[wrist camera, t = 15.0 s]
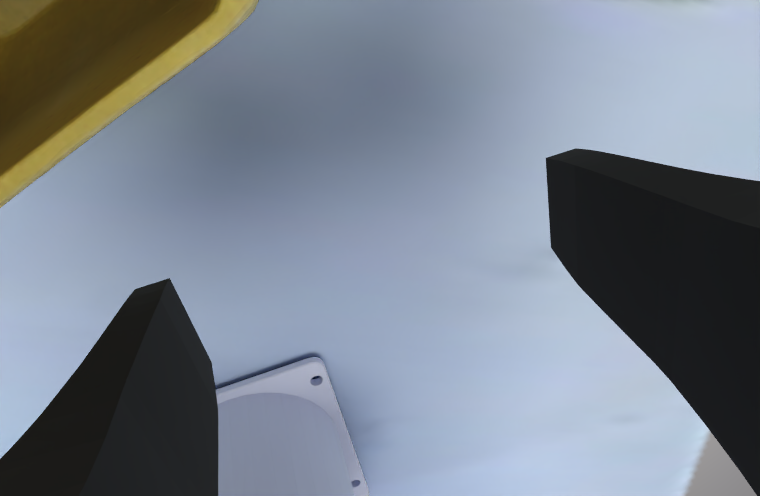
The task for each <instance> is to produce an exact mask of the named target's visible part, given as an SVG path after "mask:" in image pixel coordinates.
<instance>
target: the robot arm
mask: <svg viewBox="0 0 760 496" xmlns="http://www.w3.org/2000/svg"><path fill="white" fill-rule="evenodd" d="M546 168H547V185H548V202H549V220H550V237H551V248H552V249H553V251H554V252H555V254H556V255H557V257H558V258H559V259H560V261H561V262H562V264H563V265H564V267H565V268H566V269H567V271H568V272H569V273H570V275H571V276H572V277H573V279H574V280H575V281H576V283H577V284H578V285H579V286H580V287H581V288H582V290H583V291H584V292H585V293H586V294H587V295H588V296H589V297H590V298H591V299H592V300H593V301H594V302H595V303H596V304H597V305H598V306H599V307H600V308H601V309H602V310H603V311H604V312H605V313H606V314H607V315H608V316H609V317H610V318H611V319H612V320H613V321H614V322H615V323H616V324H617V325H618V326H619V327H620V329H621V330H622V331H623V332H624V333H625V334H626V335H627V336H628V337H629V338H630V339H631V340H632V341H633V342H634V343H635V344H636V345H637V346H638V347H639V348H640V349H641V350H642V351H643V352H644V353H645V354H646V355H647V356H648V357H649V358H650V359H651V360H652V361H653V362H654V363H655V364H656V365H657V366H658V367H659V368H660V369H661V371H662V372H663V373H664V374H665V375H666V376H667V377H668V378H669V379H670V381H671V382H672V383H673V384H674V385H675V387H676V388H677V389H678V390H679V392H680V393H681V394H682V395H683V397H684V398H685V399H686V401H687V402H688V403H689V404H690V406H691V407H692V408H693V409H694V411H695V412H696V413H697V414H698V416H699V417H700V418H701V419H702V421H703V422H704V423H705V425H706V426H707V427H708V429H709V430H710V431H711V433H712V434H713V435H714V437H715V438H716V439H717V441H718V442H719V443H720V445H721V446H722V447H723V449H724V450H725V451H726V453H727V454H728V455H729V457H730V458H731V459H732V461H733V462H734V463H735V465H736V466H737V467H738V469H739V470H740V472H741V473H742V474H743V476H744V477H745V479H746V480H747V482H748V483H749V484H750V486H751V487H752V489H753V490H754V492H755V493H756V494H757V496H760V181H754V180H747V179H740V178H734V177H728V176H722V175H715V174H709V173H704V172H699V171H693V170H688V169H683V168H678V167H673V166H668V165H663V164H658V163H654V162H649V161H644V160H639V159H635V158H630V157H625V156H620V155H615V154H610V153H605V152H599V151H593V150H586V149H573V150H570V151H567V152H563V153H560V154H557V155H554V156H551V157H548V158H546ZM314 376H320V377H319V378H317V379H312V378H313V377H314ZM0 496H369V489H368V486H367V483H366V480H365V477H364V475H363V472H362V469H361V466H360V463H359V461H358V458H357V455H356V452H355V449H354V447H353V444H352V441H351V438H350V435H349V432H348V430H347V427H346V424H345V421H344V418H343V416H342V413H341V410H340V407H339V404H338V402H337V399H336V396H335V393H334V390H333V388H332V385H331V382H330V379H329V376H328V373H327V371H326V368H325V365H324V362H323V361H322V360H321V359H320V358H317V357H311V358H307V359H304V360H301V361H298V362H295V363H292V364H289V365H287V366H284V367H281V368H278V369H275V370H272V371H269V372H266V373H263V374H260V375H257V376H255V377H252V378H249V379H246V380H243V381H240V382H237V383H234V384H231V385H228V386H225V387H223V388H220V389H217V390H216V389H215V382H214V376H213V369H212V363H211V360H210V358H209V356H208V354H207V352H206V350H205V348H204V346H203V344H202V342H201V340H200V338H199V336H198V334H197V332H196V330H195V328H194V326H193V324H192V322H191V320H190V318H189V316H188V314H187V312H186V310H185V308H184V306H183V304H182V302H181V300H180V298H179V296H178V294H177V292H176V290H175V288H174V286H173V284H172V282H171V280H170V278H169V279H166V280H163V281H160V282H156V283H153V284H150V285H147V286H144V287H141V288H138V289H135V290H134V291H133V293H132V294H131V295H130V296H129V298H128V299H127V300H126V302H125V303H124V304H123V306H122V307H121V308H120V310H119V311H118V313H117V314H116V316H115V317H114V318H113V320H112V321H111V323H110V324H109V326H108V327H107V328H106V330H105V331H104V333H103V334H102V335H101V337H100V338H99V340H98V341H97V342H96V344H95V345H94V347H93V348H92V349H91V351H90V352H89V353H88V355H87V356H86V358H85V359H84V360H83V362H82V363H81V365H80V366H79V367H78V369H77V370H76V371H75V372H74V374H73V375H72V376H71V377H70V379H69V380H68V381H67V382H66V384H65V385H64V386H63V387H62V389H61V390H60V391H59V392H58V394H57V395H56V396H55V398H54V399H53V400H52V401H51V403H50V404H49V405H48V406H47V408H46V409H45V410H44V411H43V413H42V414H41V415H40V416H39V417H38V418H37V420H36V421H35V422H34V423H33V424H32V425H31V427H30V428H29V429H28V430H27V431H26V432H25V433H24V434H23V436H22V437H21V438H20V439H19V440H18V441H17V442H16V443H15V444H14V445H13V446H12V447H11V448H10V449H9V451H8V452H7V453H6V454H5V455H4V456H3V457H2V458H1V459H0Z"/></svg>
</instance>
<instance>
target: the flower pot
mask: <svg viewBox="0 0 760 496" xmlns="http://www.w3.org/2000/svg"><path fill="white" fill-rule="evenodd" d="M258 1H259V0H0V208H1V207H2V206H3V205H5V204H6V203H7V202H8V201H10V200H11V199H12V198H13V197H15V196H16V195H17V194H19V193H20V192H21V191H22V190H24V189H25V188H26V187H28V186H29V185H30V184H31V183H33V182H34V181H35V180H36V179H38V178H39V177H41V176H42V175H43V174H45V173H46V172H47V171H49V170H50V169H51V168H52V167H54V166H55V165H56V164H57V163H58V162H60V161H61V160H62V159H64V158H65V157H66V156H68V155H69V154H70V153H72V152H73V151H74V150H76V149H77V148H78V147H80V146H81V145H82V144H84V143H85V142H86V141H88V140H89V139H90V138H91V137H93V136H94V135H95V134H97V133H98V132H99V131H101V130H102V129H103V128H105V127H106V126H107V125H109V124H110V123H111V122H113V121H114V120H115V119H117V118H118V117H119V116H120V115H122V114H123V113H124V112H126V111H127V110H128V109H129V108H131V107H132V106H134V105H135V104H136V103H138V102H139V101H141V100H142V99H144V98H145V97H146V96H148V95H149V94H150V93H152V92H153V91H155V90H156V89H157V88H158V87H159V86H161V85H163V84H164V83H166V82H167V81H169V80H170V79H171V78H172V77H174V76H175V75H176V74H178V73H179V72H180V71H182V70H183V69H184V68H186V67H187V66H189V65H190V64H191V63H193V62H194V61H195V60H197V59H198V58H199V57H201V56H202V55H203V54H205V53H206V52H207V51H209V50H210V49H211V48H213V47H214V46H215V45H216V44H218V43H219V42H220V41H221V40H223V39H224V38H225V37H226V36H227V35H229V34H230V33H231V32H232V31H233V30H235V29H236V28H237V27H238V26H239V25H240V24H242V23H243V22H244V21H245V20H246V19H247V18H248V17H249V16H250V15H251V13H252V12H253V11H254V10H255V8H256V5H257V3H258Z"/></svg>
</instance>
